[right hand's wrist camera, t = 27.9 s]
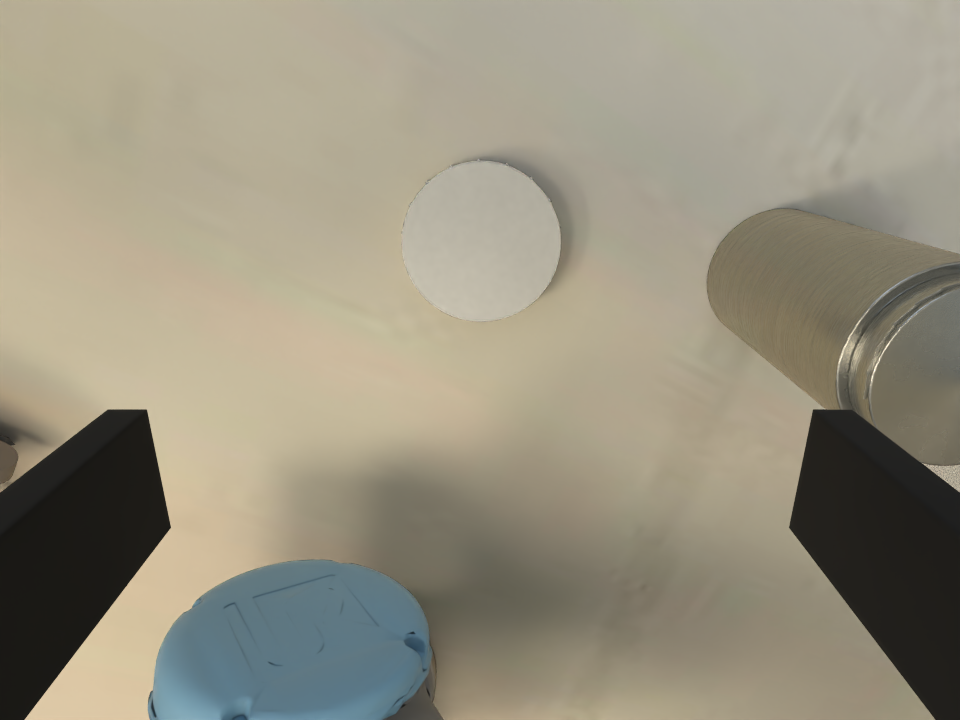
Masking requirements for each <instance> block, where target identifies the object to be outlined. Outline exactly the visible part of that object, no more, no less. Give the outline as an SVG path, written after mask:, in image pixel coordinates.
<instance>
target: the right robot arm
mask: <svg viewBox="0 0 960 720" xmlns="http://www.w3.org/2000/svg"><path fill="white" fill-rule="evenodd" d="M170 528H171V526H170V521H169V516H168V511H167V506H166V501H165V497H164V492H163V487H162V482H161V477H160V472H159V467H158V462H157V457H156V452H155V447H154V442H153V438H152V433H151V428H150V423H149V418H148V413H147V410H107V411H105V412H104V413H103V414H102V415H100V416H99V417H98V418H96V419H95V420H94V421H92V422H91V423H90V424H89V425H87V426H86V427H85V428H83V429H82V430H81V431H80V432H78V433H77V434H76V435H74V436H73V437H72V438H70V439H69V440H68V441H67V442H65V443H64V444H63V445H61V446H60V447H59V448H58V449H56V450H55V451H54V452H52V453H51V454H50V455H48V456H47V457H46V458H45V459H43V460H42V461H41V462H39V463H38V464H37V465H36V466H34V467H33V468H32V469H30V470H29V471H28V472H26V473H25V474H24V475H23V476H21V477H20V478H19V479H17V480H16V481H15V482H14V483H12V484H11V485H10V486H8V487H7V488H6V489H4V490H3V491H2V492H1V493H0V720H25V718H26V717H27V716H28V714H29V713H30V712H31V710H32V709H33V708H34V706H35V705H36V704H37V702H38V701H39V700H40V699H41V697H42V696H43V695H44V693H45V692H46V691H47V689H48V688H49V687H50V685H51V684H52V683H53V681H54V680H55V679H56V678H57V676H58V675H59V674H60V672H61V671H62V670H63V668H64V667H65V666H66V664H67V663H68V662H69V660H70V659H71V658H72V657H73V655H74V654H75V653H76V651H77V650H78V649H79V647H80V646H81V645H82V643H83V642H84V641H85V640H86V638H87V637H88V636H89V634H90V633H91V632H92V630H93V629H94V628H95V626H96V625H97V624H98V622H99V621H100V620H101V619H102V617H103V616H104V615H105V613H106V612H107V611H108V609H109V608H110V607H111V605H112V604H113V603H114V601H115V600H116V599H117V598H118V596H119V595H120V594H121V592H122V591H123V590H124V588H125V587H126V586H127V584H128V583H129V582H130V580H131V579H132V578H133V577H134V575H135V574H136V573H137V571H138V570H139V569H140V567H141V566H142V565H143V563H144V562H145V561H146V560H147V558H148V557H149V556H150V554H151V553H152V552H153V550H154V549H155V548H156V546H157V545H158V544H159V542H160V541H161V540H162V539H163V537H164V536H165V535H166V533H167V532H168V531H169V529H170ZM789 528H790V529H791V531H792V532H793V533H794V535H795V536H796V537H797V539H798V540H799V541H800V542H801V544H802V545H803V546H804V548H805V549H806V550H807V552H808V553H809V554H810V556H811V557H812V558H813V560H814V561H815V562H816V563H817V565H818V566H819V567H820V569H821V570H822V571H823V573H824V574H825V575H826V577H827V578H828V579H829V581H830V582H831V583H832V584H833V586H834V587H835V588H836V590H837V591H838V592H839V594H840V595H841V596H842V598H843V599H844V600H845V601H846V603H847V604H848V605H849V607H850V608H851V609H852V611H853V612H854V613H855V615H856V616H857V617H858V619H859V620H860V621H861V622H862V624H863V625H864V626H865V628H866V629H867V630H868V632H869V633H870V634H871V636H872V637H873V638H874V640H875V641H876V642H877V643H878V645H879V646H880V647H881V649H882V650H883V651H884V653H885V654H886V655H887V657H888V658H889V659H890V660H891V662H892V663H893V664H894V666H895V667H896V668H897V670H898V671H899V672H900V674H901V675H902V676H903V678H904V679H905V680H906V681H907V683H908V684H909V685H910V687H911V688H912V689H913V691H914V692H915V693H916V695H917V696H918V697H919V699H920V700H921V701H922V702H923V704H924V705H925V706H926V708H927V709H928V710H929V712H930V713H931V714H932V716H933V717H934V718H935V720H960V493H959V492H958V491H957V490H956V489H954V488H953V487H952V486H950V485H949V484H948V483H946V482H945V481H944V480H943V479H941V478H940V477H939V476H937V475H936V474H935V473H934V472H932V471H931V470H930V469H928V468H927V467H926V466H924V465H923V464H922V463H921V462H919V461H918V460H917V459H915V458H914V457H913V456H912V455H910V454H909V453H908V452H906V451H905V450H904V449H902V448H901V447H900V446H899V445H897V444H896V443H895V442H893V441H892V440H891V439H890V438H888V437H887V436H886V435H884V434H883V433H882V432H880V431H879V430H878V429H877V428H875V427H874V426H873V425H871V424H870V423H869V422H868V421H866V420H865V419H864V418H862V417H861V416H860V415H858V414H857V413H856V412H855V411H853V410H813V413H812V418H811V423H810V428H809V433H808V438H807V442H806V447H805V452H804V457H803V462H802V467H801V472H800V477H799V482H798V487H797V492H796V496H795V501H794V506H793V511H792V516H791V521H790V526H789Z"/></svg>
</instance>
